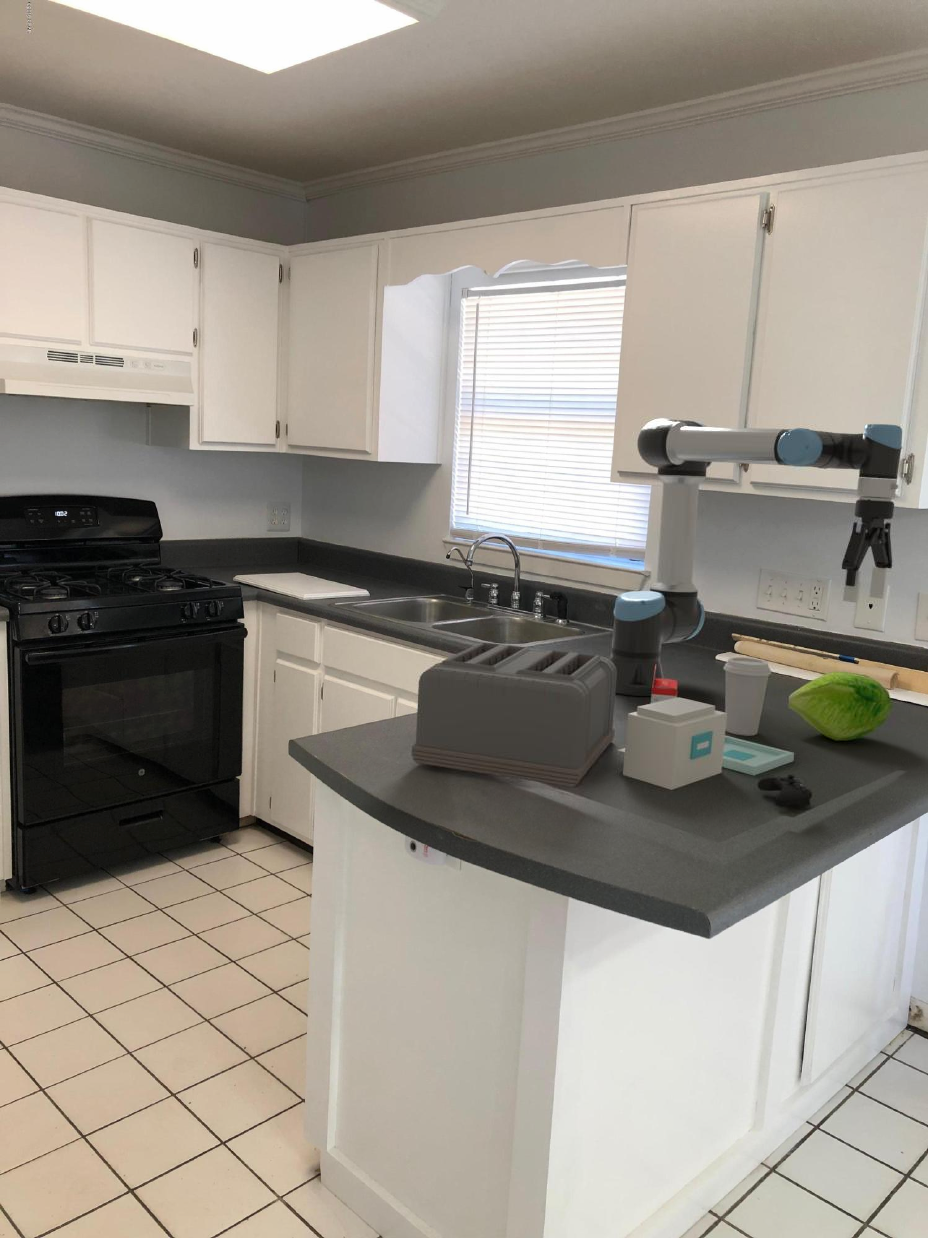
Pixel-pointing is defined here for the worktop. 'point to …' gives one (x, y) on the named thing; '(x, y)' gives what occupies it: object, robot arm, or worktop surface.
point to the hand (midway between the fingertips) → (863, 599)
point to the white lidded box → (674, 742)
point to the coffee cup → (745, 694)
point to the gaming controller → (786, 790)
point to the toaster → (516, 713)
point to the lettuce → (842, 704)
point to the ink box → (663, 689)
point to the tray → (752, 756)
